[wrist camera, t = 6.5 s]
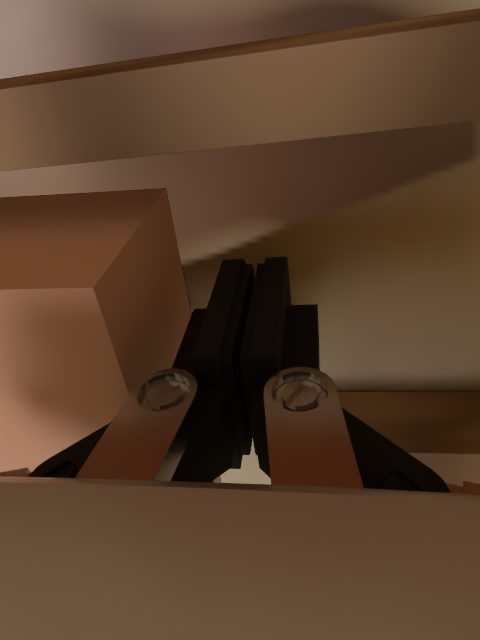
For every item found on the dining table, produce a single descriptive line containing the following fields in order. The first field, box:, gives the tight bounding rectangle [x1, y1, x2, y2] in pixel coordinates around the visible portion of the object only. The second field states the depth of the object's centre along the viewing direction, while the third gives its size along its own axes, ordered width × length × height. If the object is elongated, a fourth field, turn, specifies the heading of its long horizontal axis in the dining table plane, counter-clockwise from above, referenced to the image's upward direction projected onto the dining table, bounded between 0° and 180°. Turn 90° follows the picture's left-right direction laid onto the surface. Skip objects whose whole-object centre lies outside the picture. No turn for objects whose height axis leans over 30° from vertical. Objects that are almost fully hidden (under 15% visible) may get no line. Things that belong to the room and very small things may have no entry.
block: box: [0, 188, 191, 472], centre depth 12 cm, size 6×6×5 cm
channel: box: [0, 9, 480, 486], centre depth 12 cm, size 24×12×4 cm, turn 98°
